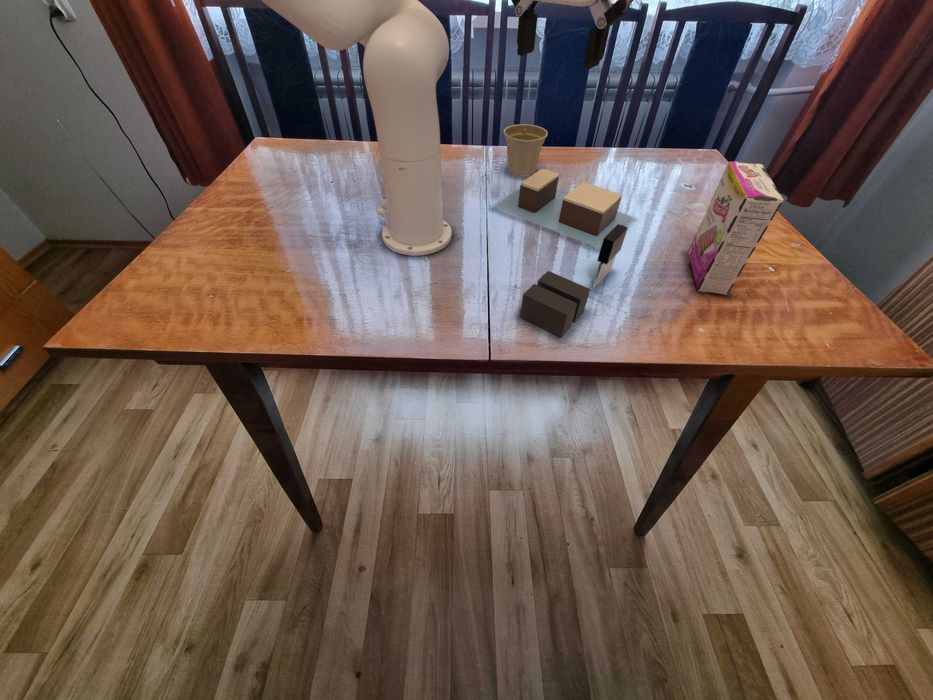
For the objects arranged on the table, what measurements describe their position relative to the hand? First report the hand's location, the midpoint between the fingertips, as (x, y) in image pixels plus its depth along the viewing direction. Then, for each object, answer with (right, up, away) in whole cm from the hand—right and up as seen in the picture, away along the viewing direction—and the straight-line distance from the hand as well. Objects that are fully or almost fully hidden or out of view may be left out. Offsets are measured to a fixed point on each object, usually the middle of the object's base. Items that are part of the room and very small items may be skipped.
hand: (557, 59), depth 54 cm
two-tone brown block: (+3, -8, +31) cm, 32 cm away
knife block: (+1, -32, +9) cm, 33 cm away
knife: (+10, -26, +14) cm, 32 cm away
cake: (+11, -13, +26) cm, 31 cm away
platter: (+7, -11, +29) cm, 32 cm away
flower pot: (+1, +3, +42) cm, 42 cm away
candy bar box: (+28, -25, +16) cm, 41 cm away
